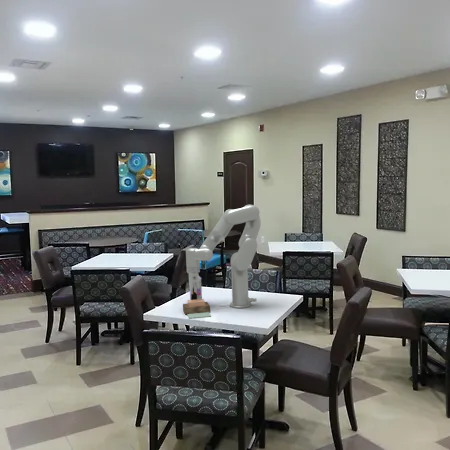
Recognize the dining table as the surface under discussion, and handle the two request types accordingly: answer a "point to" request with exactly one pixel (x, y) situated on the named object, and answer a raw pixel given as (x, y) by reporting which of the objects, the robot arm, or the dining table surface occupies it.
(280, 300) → the dining table surface
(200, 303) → the tile
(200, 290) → the candy box
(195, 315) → the mat
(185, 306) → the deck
